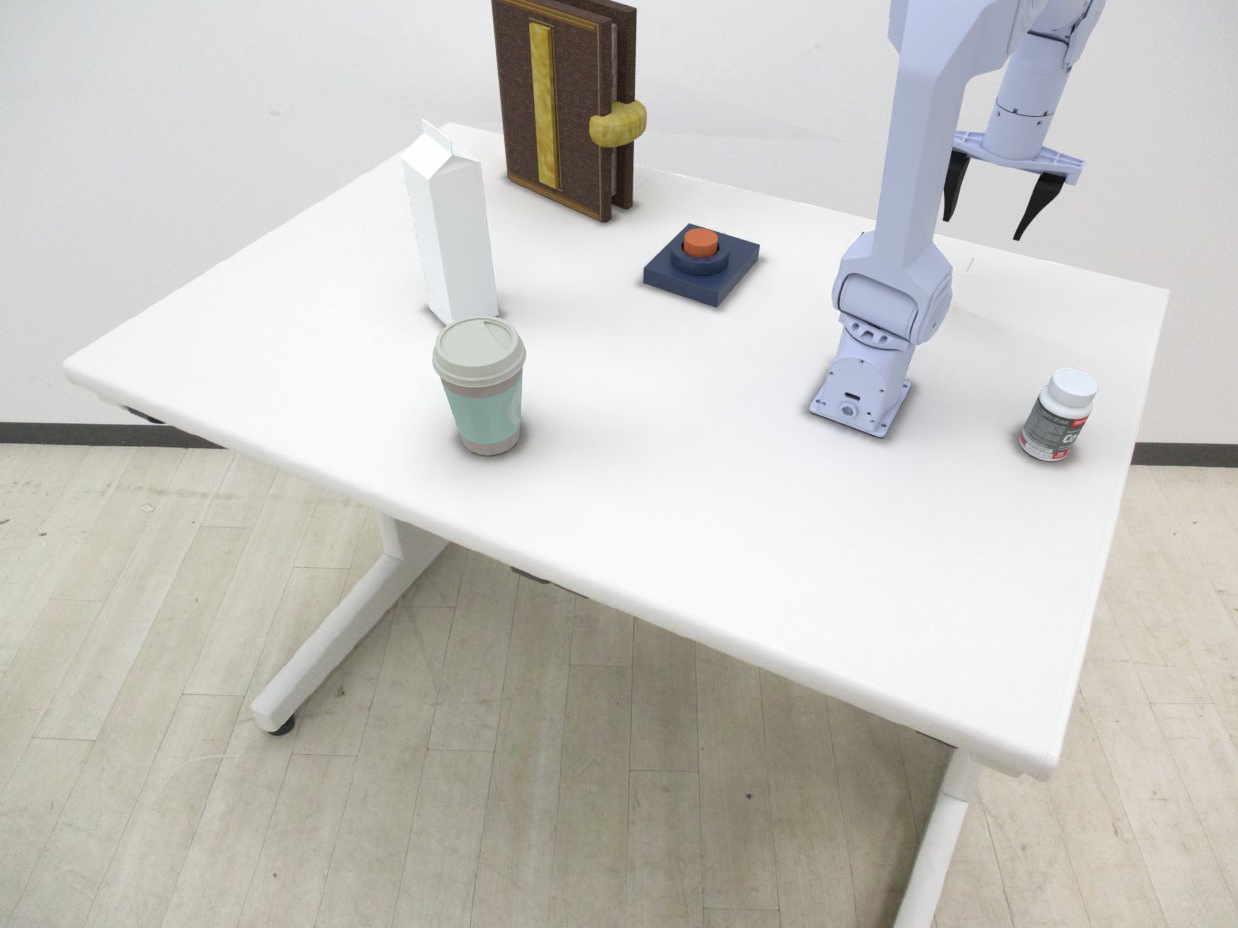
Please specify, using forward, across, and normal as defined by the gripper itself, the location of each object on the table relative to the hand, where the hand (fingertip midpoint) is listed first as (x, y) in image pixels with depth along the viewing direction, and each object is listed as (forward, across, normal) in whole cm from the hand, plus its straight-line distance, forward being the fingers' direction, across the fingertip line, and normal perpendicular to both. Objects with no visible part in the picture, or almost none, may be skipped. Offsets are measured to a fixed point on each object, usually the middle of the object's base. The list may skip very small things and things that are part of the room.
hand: (982, 227), depth 94 cm
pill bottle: (+10, -14, +20) cm, 27 cm away
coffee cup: (+10, +34, +47) cm, 59 cm away
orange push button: (+6, +29, +11) cm, 32 cm away
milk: (+10, +49, +32) cm, 59 cm away
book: (+10, +53, +2) cm, 54 cm away
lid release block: (+10, +29, +10) cm, 32 cm away
